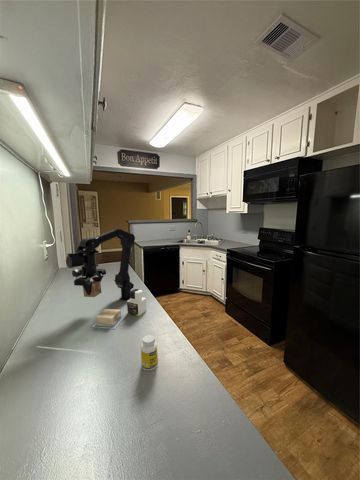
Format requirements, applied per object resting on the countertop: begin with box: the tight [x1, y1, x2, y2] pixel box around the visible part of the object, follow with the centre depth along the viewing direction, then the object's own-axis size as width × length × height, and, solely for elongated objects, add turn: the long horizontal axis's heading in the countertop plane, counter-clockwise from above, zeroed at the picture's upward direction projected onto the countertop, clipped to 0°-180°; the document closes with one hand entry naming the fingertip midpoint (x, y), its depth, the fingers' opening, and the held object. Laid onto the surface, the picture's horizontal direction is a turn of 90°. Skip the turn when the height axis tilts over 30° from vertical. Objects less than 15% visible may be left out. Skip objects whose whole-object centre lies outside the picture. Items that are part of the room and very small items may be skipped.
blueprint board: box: [90, 314, 127, 330], centre depth 95 cm, size 12×12×1 cm
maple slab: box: [95, 308, 122, 327], centre depth 95 cm, size 8×8×4 cm
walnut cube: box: [82, 280, 102, 298], centre depth 103 cm, size 6×6×6 cm
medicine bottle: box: [126, 288, 148, 317], centre depth 103 cm, size 7×7×12 cm
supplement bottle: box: [140, 334, 159, 371], centre depth 67 cm, size 5×5×10 cm
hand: (92, 292), depth 104 cm, fingers closed on walnut cube, 6 cm apart
